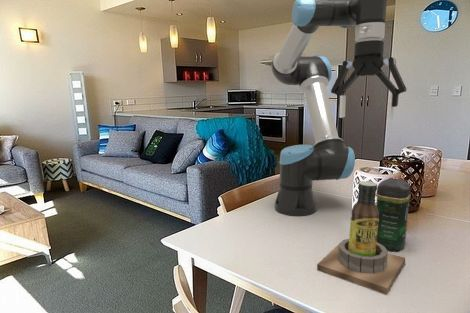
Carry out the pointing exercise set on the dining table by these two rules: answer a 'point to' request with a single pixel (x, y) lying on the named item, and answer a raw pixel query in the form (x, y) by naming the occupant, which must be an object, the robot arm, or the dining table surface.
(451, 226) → the dining table surface
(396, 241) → the coffee jar
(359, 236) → the sauce bottle
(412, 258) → the dining table surface
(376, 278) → the ring collar
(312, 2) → the robot arm
